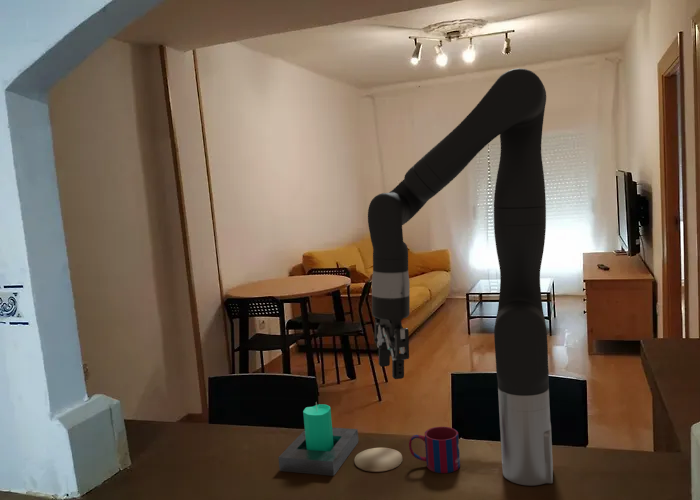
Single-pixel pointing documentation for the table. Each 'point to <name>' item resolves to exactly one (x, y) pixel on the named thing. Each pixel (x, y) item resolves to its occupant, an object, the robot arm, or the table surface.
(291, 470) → the grey rectangular frame
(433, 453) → the mug
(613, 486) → the table surface
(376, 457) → the cork coaster
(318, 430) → the candle
